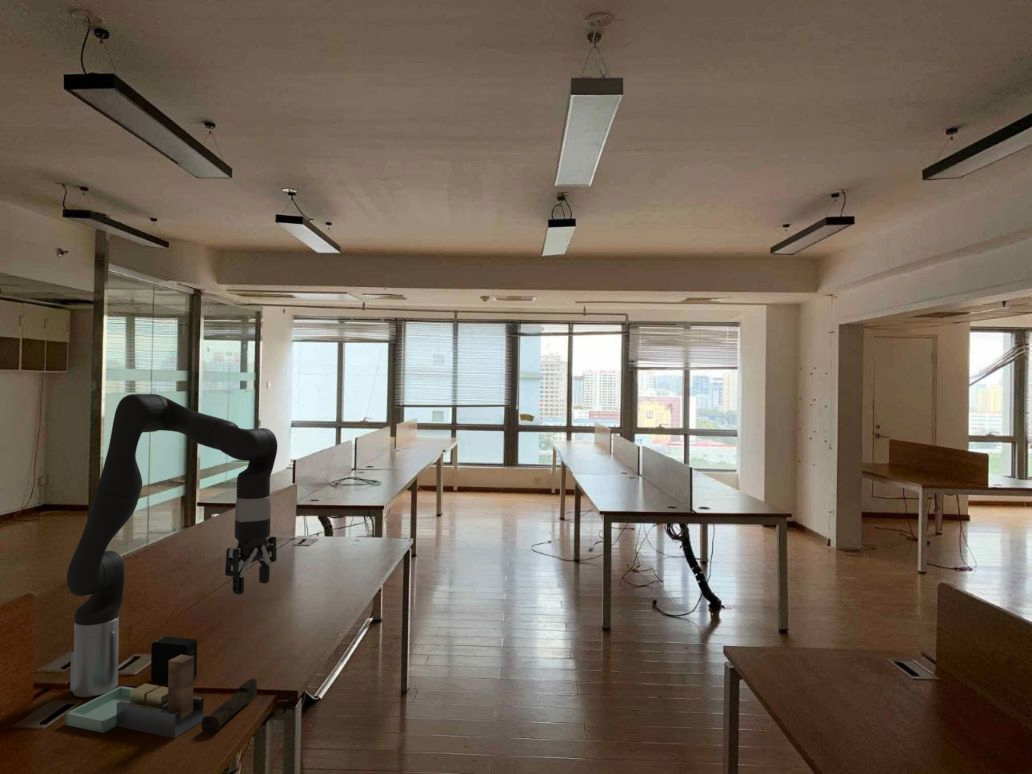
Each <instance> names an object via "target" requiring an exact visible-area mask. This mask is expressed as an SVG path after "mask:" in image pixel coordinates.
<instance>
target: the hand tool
mask: <svg viewBox="0 0 1032 774" xmlns="http://www.w3.org/2000/svg"><path fill="white" fill-rule="evenodd" d="M257 693H258V683H257V680H256V679H255V678H250V679H248V680H246V681H245V682H244V683H242V684H240V685H239V687H238V691H237V692H236V693H234V695H232V696H231V697H230V698H229V699H227V700H226V701H225V702H224V703H223V704H221V705H220V706H219V707H217V708H216V709H215V710H213V711H212V712H211V713H210V714H209V715H206V716H203V719H202V721H201V730H202V732H203V733H206V734H217V733H218V731H219V730H222V729H221V728H222V726H223V725H224V724H225V723H226V722H227V721H228V720H230V719H231V718H232V717H233V716H235V714H237V713H238V712H239V711H240V710H241V709H242V708H243V707H244V706H247V705H248V706H249V705H250V704H252V702H253V700H254V699H255V697H256V695H257Z"/></svg>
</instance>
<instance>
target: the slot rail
mask: <svg viewBox="0 0 1032 774" xmlns="http://www.w3.org/2000/svg"><path fill="white" fill-rule="evenodd" d="M204 700H205V699H204V697H203V696H202V697H201V696H197V695H193V711H192V712H190V713H189V714H187V715H186V716H184V717H182V718H179V712H174V711H169V710H164V709H158V708H153V707H148V706H143V705H138V704H132V703H127V702H122V701H120V702H118V703H117V713H116V727H117V728H118V727H119V728H124V729H129V730H134V731H138V732H143V733H147V734H151V735H152V734H153V735H157V736H162V737H166V738H172V739H177V738H178V737H179V736H181V735H182V734H184V733H185V732H187V731H189V730H190V729H192V728H194V727H195V726H196V725H198V724H199V723H202V719H203V717H204V703H205V702H204Z"/></svg>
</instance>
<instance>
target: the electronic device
mask: <svg viewBox="0 0 1032 774" xmlns="http://www.w3.org/2000/svg"><path fill="white" fill-rule="evenodd" d="M150 647H151V651H150V652H151V653H150V654H151V655H150V680H151V682H153V681H154V682H153V683H159V682H163V683H162V684H168V669H169V660H171V659H173V658H175V657H177V656H179V655H187V656H194V679H195V678H197V675H198V674H197V672H198V666H197V665H198V641H197V640H196V638H195V639H194V638H186V637H185V638H184V637H176V636H174V637H173V636H163V637H160V638H159V639H158V640H156V639H155V640H154V641H153V642H152V643H151V646H150Z"/></svg>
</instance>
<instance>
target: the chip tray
mask: <svg viewBox="0 0 1032 774" xmlns="http://www.w3.org/2000/svg"><path fill="white" fill-rule="evenodd" d="M135 688H136V687H129V686H124V685H120V686H117V687H116V688H114V689H113V690H111V691H109V692H107V693H104V694H101V695H100V696H98V697H96V698H94V699H92V700H89V701H88V702H86V703H84V704H82V705H79V706H78V707H76V708H74V709H71V710H70V711H67V712H66V713H65V714H64V715H65V716H64V717H65V722H64V723H65V726H70V727H75V728H79V729H83V730H88V731H93V732H97V733H103V734H105V733H106V732H108V731H110V730H113V729H114V728H116V727H117V726H116V713H117V703H118V702H120V701H122V702H127V703H130V691H131V690H133V689H135Z"/></svg>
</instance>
